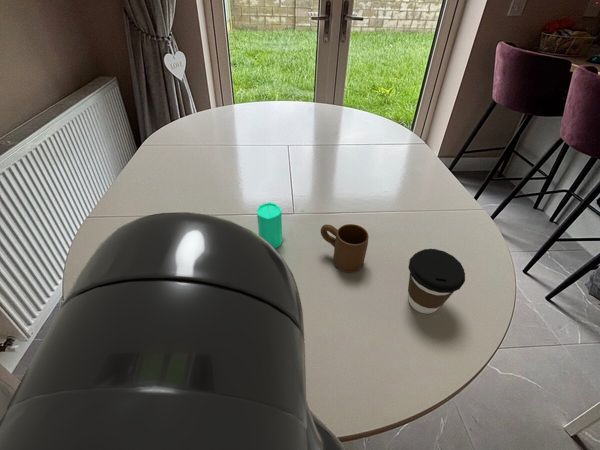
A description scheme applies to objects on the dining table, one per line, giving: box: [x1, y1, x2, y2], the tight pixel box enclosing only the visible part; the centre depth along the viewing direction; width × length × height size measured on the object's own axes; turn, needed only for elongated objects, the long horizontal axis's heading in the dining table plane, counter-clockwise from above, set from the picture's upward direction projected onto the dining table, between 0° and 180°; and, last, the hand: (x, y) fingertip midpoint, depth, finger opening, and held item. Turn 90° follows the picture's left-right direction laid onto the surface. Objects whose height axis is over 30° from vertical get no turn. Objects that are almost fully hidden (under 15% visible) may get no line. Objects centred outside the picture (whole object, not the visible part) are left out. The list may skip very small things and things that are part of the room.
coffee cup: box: [407, 248, 466, 315], centre depth 70 cm, size 11×11×12 cm
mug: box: [320, 223, 370, 273], centre depth 81 cm, size 12×8×9 cm, turn 59°
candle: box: [256, 201, 283, 249], centre depth 84 cm, size 6×6×12 cm
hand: (206, 266), depth 57 cm, fingers closed
